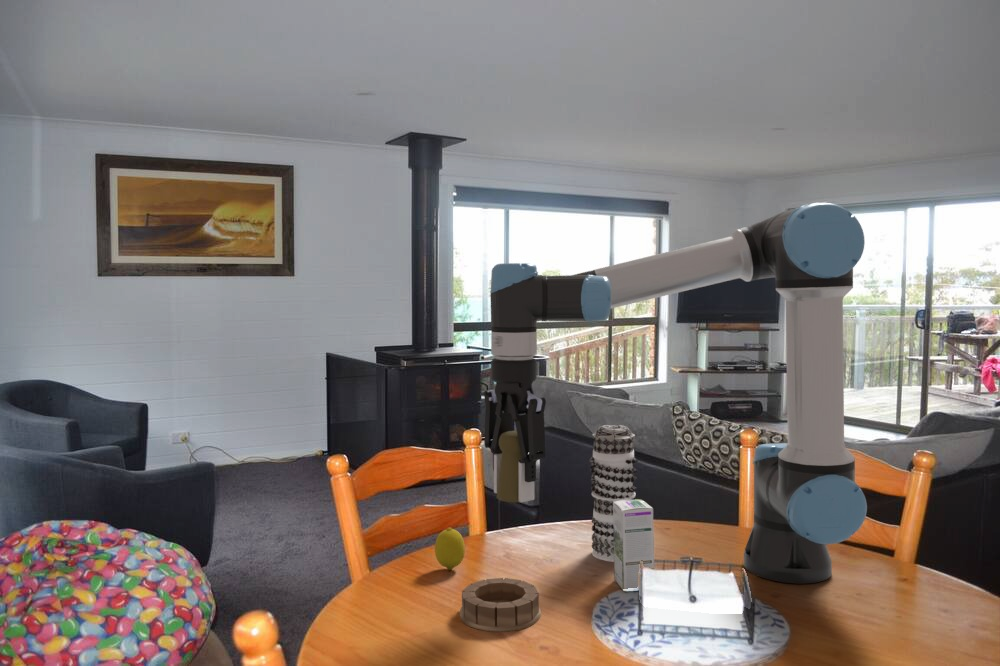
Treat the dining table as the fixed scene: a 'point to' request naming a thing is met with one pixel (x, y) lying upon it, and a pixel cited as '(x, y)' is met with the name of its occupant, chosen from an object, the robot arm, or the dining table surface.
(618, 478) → the decorative candle
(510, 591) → the collar
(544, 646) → the dining table surface
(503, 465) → the olive green knobbed peg
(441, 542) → the lemon
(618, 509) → the syrup box
